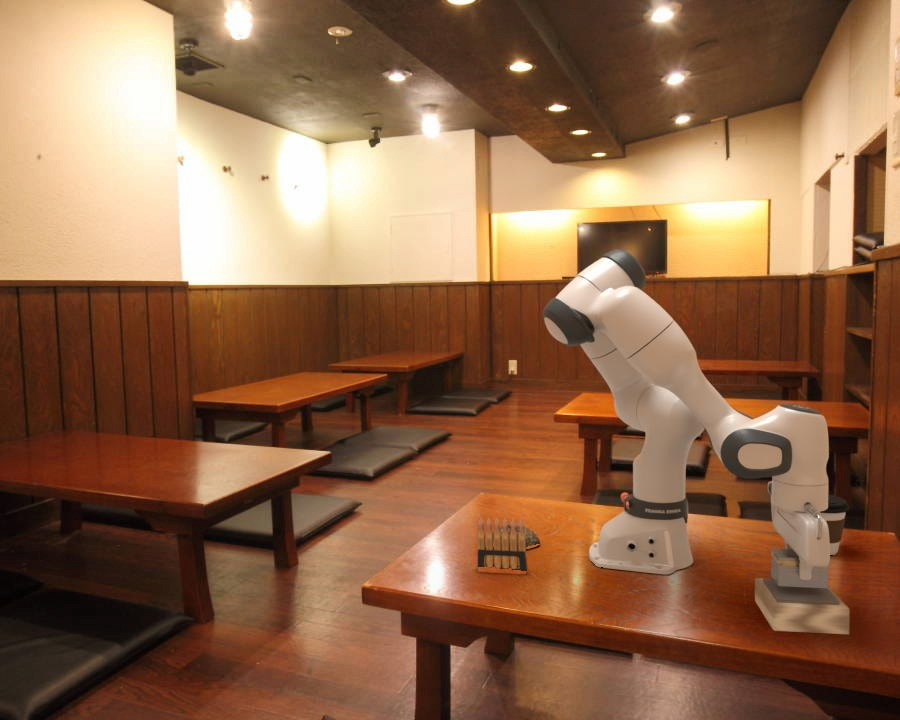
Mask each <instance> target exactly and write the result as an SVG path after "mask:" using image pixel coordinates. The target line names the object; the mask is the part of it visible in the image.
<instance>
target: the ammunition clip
mask: <svg viewBox="0 0 900 720" xmlns="http://www.w3.org/2000/svg"><path fill="white" fill-rule="evenodd" d="M510 524H511V535H510V548H509V535H508V521H507V517H504V519H503V521H502V526H503V527H502V526H501V527H502V548H501V535H500V528H501V527H500V521H499V518H498V517H496V518H495V521H494V527H493V528H494V530H493V529H492V521H491V518H490V517H489V516H488V518H487V520H486V526H485V525H484V520H483V518H482V517H479V520H478V529H477V531H478V533H477V565H476V566H477V567H485V566H486V567H489V568H492V567H495V568H500V569H509V568H511V569H512V570H521V571H527V570H528V559H527V558H528V557H527V550H526V537H525V528H524V527H525V523H524V519H523V518H520V521H519V524H518V525H519V537H518V539H517V532H516V520H515V517H514V518H513V517H512V520H511V523H510ZM485 527H486V528H485ZM485 529H486V531H485ZM492 533H494V547H493V535H492ZM485 537H486V538H485ZM485 540H486V543H485ZM477 567H476V568H477ZM518 567H519V569H518Z"/></svg>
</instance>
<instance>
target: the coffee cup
mask: <svg viewBox="0 0 900 720" xmlns="http://www.w3.org/2000/svg"><path fill="white" fill-rule="evenodd" d="M849 511H850V505H849V503H848V501H847V500H846V499H844V498H843V497H840V496H837V495H832V494H828V508H827V509H826V510H824V511H820V516H821V517H822V518H823V519H824V520H825V521H826V522H827V525H828V529H829V542H830V555H834V556H835V555H837V553H838V552H839V548H840V547H839V546H840V543H841V542H842V537H843V532H844V527H845V524H846V523H845V522H846V513H847V512H849Z"/></svg>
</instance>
